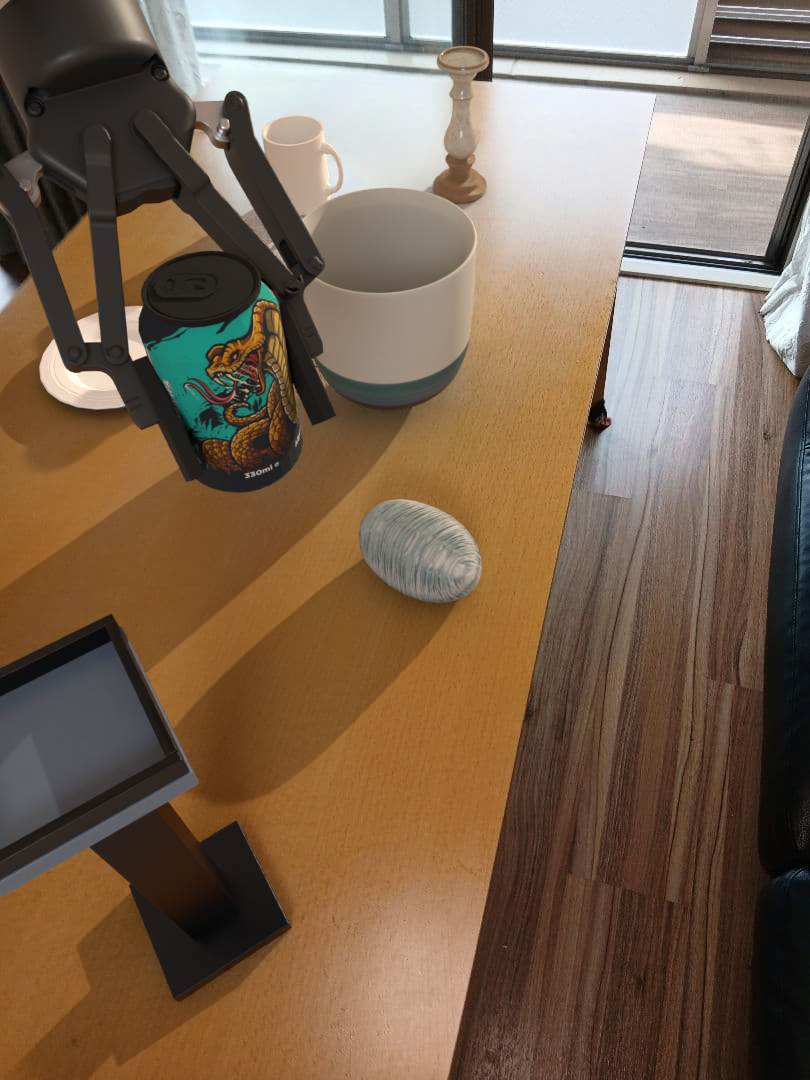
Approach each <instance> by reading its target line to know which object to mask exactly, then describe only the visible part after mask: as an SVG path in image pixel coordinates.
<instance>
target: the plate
mask: <svg viewBox="0 0 810 1080" xmlns="http://www.w3.org/2000/svg"><path fill="white" fill-rule="evenodd" d="M142 307H143V305H131V306H129V305H128V306H125V314H126V325H127V335H128V345H129V354H130V356H131V358H132V360H133V361H134V360H136V359H139V358H141V357H144V356H147V354H146V351H145V348H144V346H143V343H142V340H141V337H140V334H139V331H138V321H139V315H140V313H141V310H142ZM77 323H78V326H79V329H80V331H81V334H82V337H83V340H84V342H101V337H100V327H99V317H98V312H95V313H93V314H91V315H88V316H85V317H83V318H80V319H79V320H77ZM38 371H39V378H40V382H41V384H42V385H43V387H44V388H45V390H46V392H47V393H48V394H49V395H50V396H52V397H53V398H55V399H56V400H57V401H59V402H60V403H63V404H66V405H67V406H71V407H72V408H73V407H74V408H77V409H84V410H91V411H105V410H106V411H107V410H108V411H109V410H118V409H124V408H126V407H125V404H124V403H123V400H122V398H121V396H120V394H119V392H118V390H117V388H116V386H115V384H114V382H113V380H112V379H111V378H110V377H109V376H108V375H107V374H105V373H103V372H100V371H85V372H80V373H73V372H70V371H69V370H67V369H66V368H65V366H64V364H63V362H62V359H61V356H60V353H59V351H58V348H57V345H56V342H55V340H54V338H53V339H52V340H51V341H50V343H49V345H48V346H47V347H46V349H45V350H44V352H43V354H42V356H41V359H40V363H39V366H38Z"/></svg>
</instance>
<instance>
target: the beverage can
mask: <svg viewBox="0 0 810 1080" xmlns="http://www.w3.org/2000/svg"><path fill="white" fill-rule="evenodd" d="M140 298H141V301H142V306H143V307H142V310H141V313H140V315H139V321H138V331H139V334H140V337H141V340H142V343H143V346H144V348H145V351H146V354H147V355H148V357H149V359H150V361H151V363H152V365H153V367H154V369H155V371H156V373H157V375H158V377H159V379H160V381H161V384H162V386H163V388H164V390H165V392H166V394H167V396H168V398H169V400H170V402H171V404H172V406H173V408H174V410H175V412H176V415H177V417H178V419H179V421H180V423H181V425H182V427H183V429H184V431H185V433H186V435H187V437H188V439H189V441H190V444H191V446H192V448H193V450H194V452H195V454H196V456H197V458H198V460H199V462H200V464H201V466H202V468H203V470H204V473H205V475H204V476H202V477H200V478H197V479H195V480H196V481H198V482H199V483H200V484H202V485H204V486H206V487H208V488H210V489H212V490H216V491H219V492H225V493H226V492H227V493H236V494H242V493H250V492H255V491H259V490H262V489H264V488H267V487H270V486H271V485H273V484H274V483H276V482H278V481H279V480H281V479H282V478H284V476H286V475H287V474H288V473H289V472H290V471H292V469H293V468H294V466H295V465H296V464H297V462H298V461H299V458H300V456H301V453H302V452H303V445H304V440H303V439H304V438H303V433H302V429H301V428H302V427H301V421H300V416H299V411H298V405H297V400H296V394H295V387H294V384H293V382H292V377H291V371H290V365H289V360H288V354H287V349H286V343H285V337H284V332H283V326H282V321H281V315H280V309H279V304H278V301H277V299H276V297H275V296H274V294H273V292H272V291H271V290H270V289H269V288H268V287H267V286H266V285H265V284H264V283H263V282H262V281H261V278H260V274H259V272H258V270H257V268H256V267H255V266H254V265H253V264H252V263H251V262H250V261H249V260H247V259H245V258H244V257H242V256H239V255H236V254H233V253H229V252H224V251H223V250H199V251H194V252H188V253H185V254H181V255H179V256H176V257H173V258H170V259H169V260H167V261H164V262H163V263H161V264H160V265H158V266H157V267H156V268H155V269H153V270H152V272H150V273H149V274H148V276H147V277H146V278H145V280H144V281H143V284H142V285H141V289H140Z"/></svg>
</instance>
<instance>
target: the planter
mask: <svg viewBox="0 0 810 1080" xmlns="http://www.w3.org/2000/svg"><path fill="white" fill-rule="evenodd" d="M301 219H302V221H303V223H304V224H305V226H306V228H307V230H308V231H309V233H310V235H311V237H312V239H313V240H314V242H315V244H316V246H317V247H318V249H319V251H320V253H321V255H322V256H323V258H324V261H325V267H324V269H323V271H322V272H321V273H320V274H319V275H318V276H317V277H316V278H315V279H314V280H313V281H312V282H311V283H310V284H309V285H308V286H307V287H306V288H305V290H304V301H305V303H306V306H307V308H308V310H309V313H310V315H311V317H312V319H313V322H314V324H315V326H316V328H317V331H318V333H319V335H320V338H321V340H322V342H323V353H322V354H321V355H319V356H318V357H316V358H314V359H313V362H314V364H315V366H316V368H317V369H318V372H319V373H320V375H321V376H322V377H323V379H324V380H325V381H326V383H327V384H328V385H329V386H330V388H331V389H332V390H333V391H335V393H337V394H338V395H340V396H341V397H342V398H344V399H346V400H347V401H349V402H351V403H353V404H355V405H357V406H361V407H364V408H366V409H371V410H374V411H375V410H376V411H385V412H386V411H388V412H390V411H401V410H406V409H407V410H408V409H412V408H414V407H417V406H420V405H422V404H424V403H426V402H429V401H430V400H432V399H434V398H435V397H437V396H438V395H439V394H441V393H443V391H444V390H445V389H447V387H448V386H449V385H450V384H451V383H452V382H453V380H454V379H455V378H456V376H457V374H458V372H459V371H460V369H461V367H462V364H463V362H464V360H465V357H466V354H467V351H468V348H469V343H470V338H471V332H472V331H471V330H472V323H473V311H474V299H475V288H476V287H475V286H476V268H477V247H478V234H477V230H476V227H475V223H473V221H472V219H471V218H470V216H469V215H468V214H467V212H465V210H463V209H462V208H461V207H459V206H458V205H456V203H453V202H450V201H448V200H446V199H444V198H442V197H440V196H437V195H436V194H435V193H430V192H427V191H423V190H419V189H412V188H405V187H376V188H375V187H374V188H366V189H361V190H356V191H352V192H348V193H343V194H340V195H338V196H335V197H333V198H331V199H330V200H328V201H326V202H324V203H322V204H320V205H319V206H317V207H315V208H314V209H313V210H311V211H310V212H309V213H307V214H306V215H305V216H302V217H301Z"/></svg>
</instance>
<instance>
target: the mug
mask: <svg viewBox="0 0 810 1080" xmlns="http://www.w3.org/2000/svg"><path fill="white" fill-rule="evenodd" d="M324 129H325V128H324V125H323V123H322V122H321V121H320V120H318V119H317V118H315V117H313V116H310V115H309V116H308V115H304V114H302V115H301V114H292V115H291V114H290V115H284V116H279V117H277V118H274V119H272V120H270V121H269V122H267V123H266V124H265V125H264V126H263V127H262V129H261V138H262V144H263V151H264V153H265V155H266V157H267V158H268V160H269V162H270V164H271V166H272V167H273V169H274V171H275V173H276V174H277V176H278V178H279V180H280V182H281V183H282V185H283V187H284V189H285V190H286V192H287V194H288V196H289V198H290V199H291V201H292V203H293V205H294V206H295V208H296V210H297V212H298V214H299V215H300V217H304V216H305V215H306V214H307V213H309V212H310V211H311V210H313V209H314V208H315V207H317V206H319V205H320V204H322V203H324V202H326V201H328V200H330V199H332V198H331V195H334V194H336V193H338V192H339V191H340V190H341V189H342V187H343V184H344V183H343V182H344V168H343V165H342V162H341V158H340V156H339V154H338V152H337V151H336V150H335V148H334V147H333V146H331V144H329V143H328V142H326V140H325V131H324ZM327 155H330V156H332V158H333V159H334V160H335V162H336V166H337V170H338V179H337V183H336V184H335V185H334V186H332V185H331V184H330V175H329V167H328V165H329V164H328V158H327V157H328V156H327Z"/></svg>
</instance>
